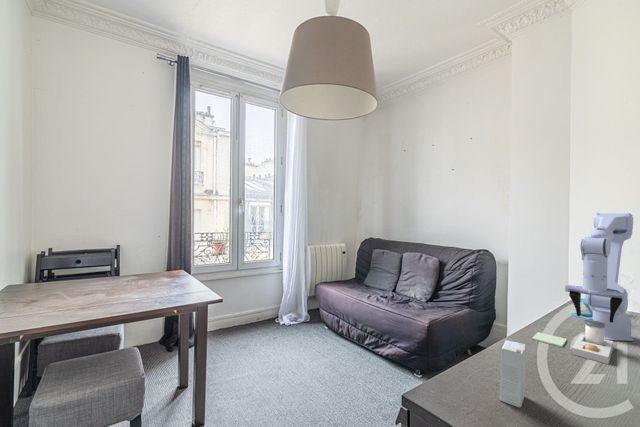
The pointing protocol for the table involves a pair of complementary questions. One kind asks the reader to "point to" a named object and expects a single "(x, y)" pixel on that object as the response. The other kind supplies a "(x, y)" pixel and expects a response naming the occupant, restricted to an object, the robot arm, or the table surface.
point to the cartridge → (594, 332)
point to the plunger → (591, 347)
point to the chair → (584, 313)
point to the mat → (549, 339)
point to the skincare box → (513, 373)
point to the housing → (601, 354)
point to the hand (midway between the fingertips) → (594, 318)
